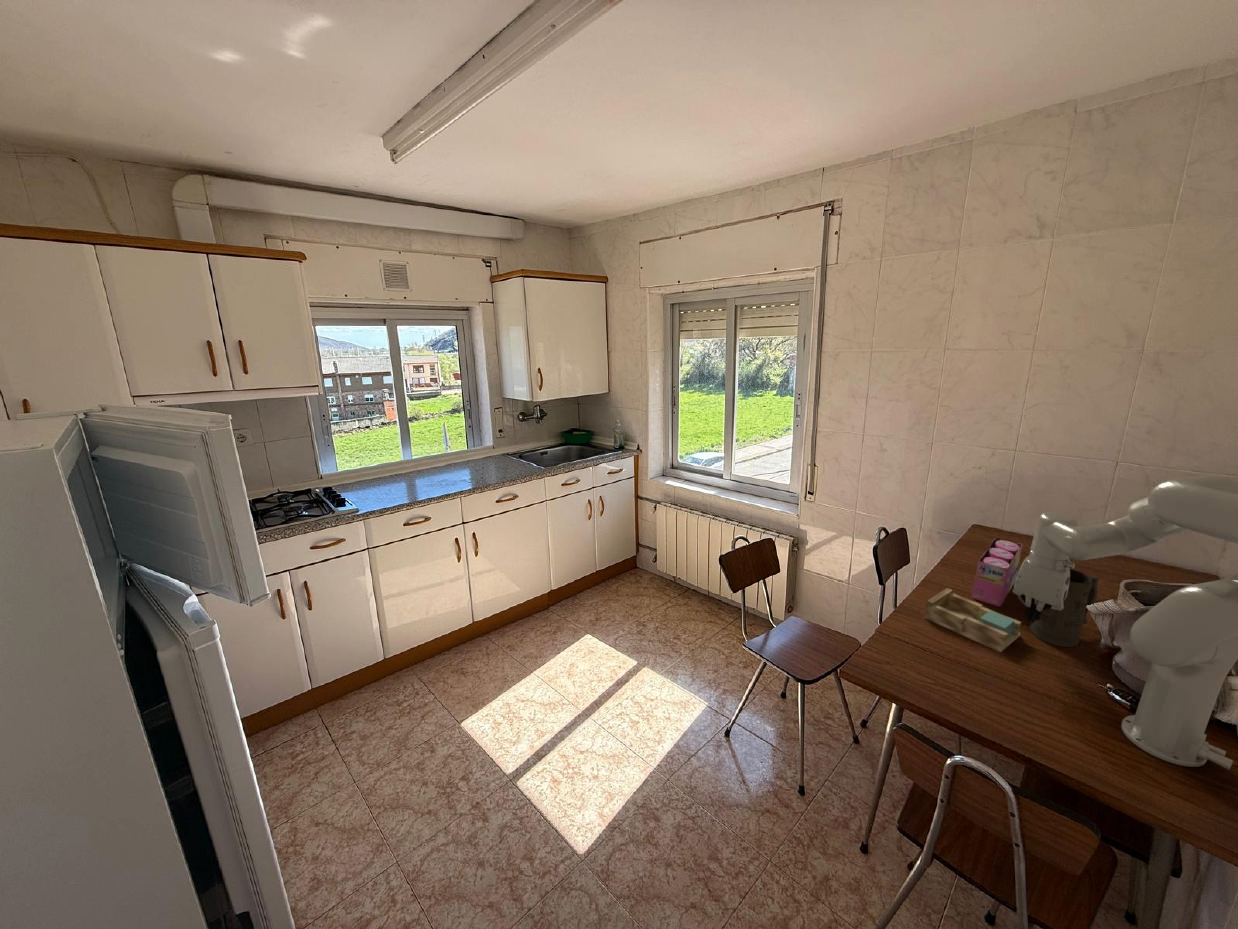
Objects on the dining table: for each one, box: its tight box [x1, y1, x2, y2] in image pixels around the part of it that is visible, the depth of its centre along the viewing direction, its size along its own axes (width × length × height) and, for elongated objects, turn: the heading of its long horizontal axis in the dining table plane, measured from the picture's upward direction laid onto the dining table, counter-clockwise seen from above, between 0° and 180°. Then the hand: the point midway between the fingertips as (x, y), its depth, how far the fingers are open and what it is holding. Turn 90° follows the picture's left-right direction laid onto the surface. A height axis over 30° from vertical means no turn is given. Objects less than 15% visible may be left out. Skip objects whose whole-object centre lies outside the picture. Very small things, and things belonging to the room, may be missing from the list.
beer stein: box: [1029, 568, 1099, 648], centre depth 139 cm, size 15×11×20 cm
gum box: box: [971, 537, 1023, 607], centre depth 163 cm, size 24×8×14 cm, turn 133°
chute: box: [924, 587, 1022, 653], centre depth 145 cm, size 20×12×6 cm, turn 33°
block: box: [980, 610, 1016, 638], centre depth 140 cm, size 6×6×5 cm
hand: (1031, 619), depth 133 cm, fingers closed
